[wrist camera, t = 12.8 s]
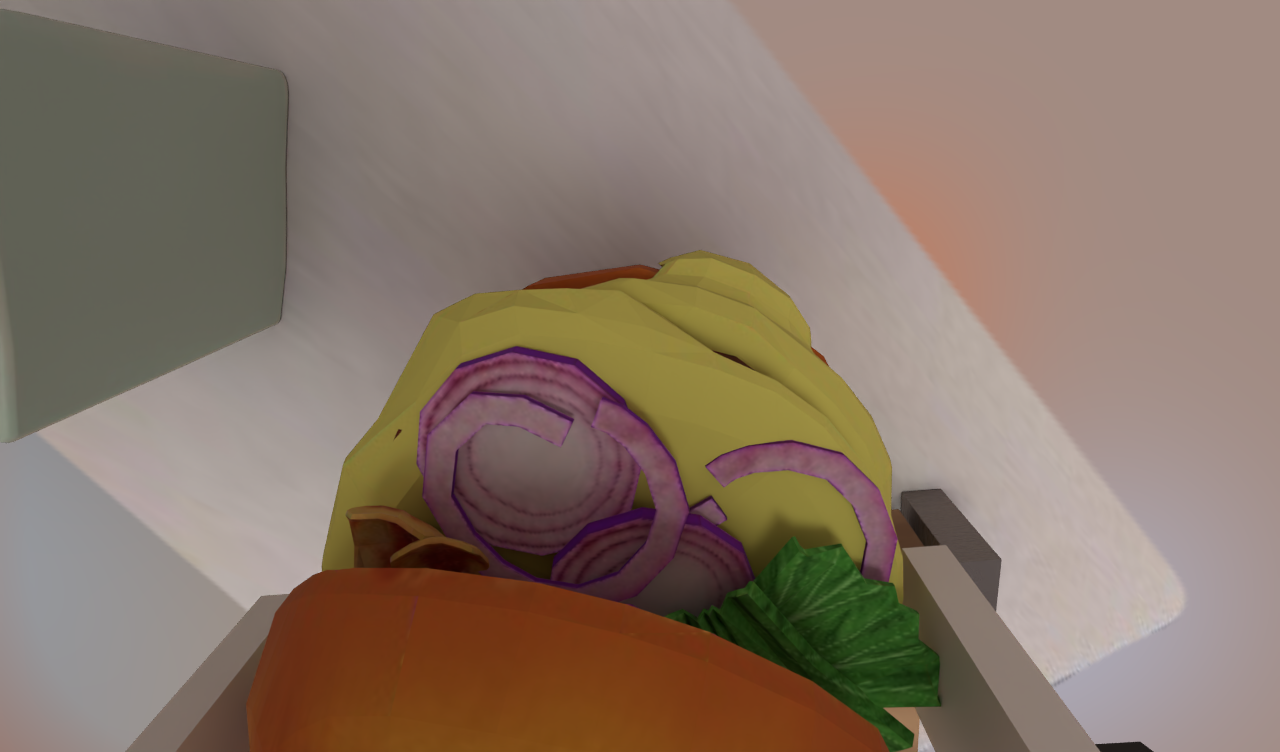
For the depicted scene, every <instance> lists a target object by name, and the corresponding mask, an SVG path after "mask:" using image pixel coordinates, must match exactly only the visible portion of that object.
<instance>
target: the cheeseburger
mask: <svg viewBox="0 0 1280 752" xmlns="http://www.w3.org/2000/svg"><path fill="white" fill-rule="evenodd" d="M659 264H660V265H661V266H662V268H661V269H660V270H659V269H655V268H651V267H647V266H644V265H634V266H626V267H619V268H612V269H605V270H598V271H591V272H584V273H577V274H570V275H563V276H556V277H548V278H544V279H542V280H540V281H538V282H536V283H533V284H531V285H529V286H527V287H526V288H524V289H522V290H513V291H501V292H490V293H478V294H474V295H472V296H470V297H467V298H465V299H463V300H461V301H459V302H457V303H455V304H453V305H451V306H449V307H447V308H445V309H443V310H441V311H440V312H438V313H436V314H434V315H433V316H432V318H431V320H430V322H429V324H428V326H427V328H426V330H425V331H424V333H423V335H422V337H421V339H420V341H419V343H418V345H417V346H416V348H415V350H414V352H413V354H412V356H411V358H410V360H409V361H408V363H407V365H406V367H405V369H404V371H403V373H402V375H401V377H400V378H399V380H398V382H397V384H396V386H395V388H394V390H393V392H392V393H391V395H390V397H389V399H388V401H387V403H386V405H385V407H384V408H383V410H382V412H381V414H380V416H379V418H378V419H377V421H376V422H375V423H374V424H373V426H372V427H371V428H370V429H369V430H368V432H367V433H366V434H365V435H364V436H363V438H362V439H361V440H360V441H359V443H358V444H357V445H356V446H355V447H354V449H353V450H352V451H351V452H350V453H349V455H348V456H347V457H346V459H345V461H344V464H343V468H342V472H341V477H340V481H339V485H338V490H337V494H336V499H335V503H334V508H333V512H332V517H331V521H330V526H329V531H328V535H327V540H326V545H325V549H324V554H323V561H322V572H320V573H317V574H315V575H312V576H311V577H310V578H308V579H307V580H305V581H304V582H303V583H301V584H300V585H298V586H297V587H296V588H294V589H293V590H292V592H291V593H290V594H289V595H288V597H287V598H286V599H285V601H284V602H283V603H282V604H281V606H280V607H279V608H278V610H277V611H276V612H275V615H274V618H273V621H272V624H271V627H270V631H269V634H268V637H267V640H266V643H265V646H264V649H263V652H262V656H261V659H260V662H259V665H258V668H257V671H256V674H255V678H254V681H253V684H252V687H251V690H250V693H249V696H248V699H247V703H246V709H247V722H248V734H249V746H250V752H897V751H901V750H904V749H908V748H911V747H913V741H914V735H915V734H914V733H913V732H911V731H910V730H909V729H908V728H907V727H905V726H904V725H903V724H902V723H901V722H899V721H898V720H897V719H896V718H895V717H893V716H892V715H891V714H890V713H889V712H887V711H886V710H885V709H884V708H894V707H941V702H940V699H939V696H938V684H939V672H940V659H939V658H940V657H939V655H938V654H937V653H936V652H935V651H933V650H932V649H931V648H930V647H928V646H927V645H926V644H925V643H923V642H922V641H921V640H919V616H920V615H919V613H918V612H917V611H916V610H914V609H912V608H910V607H907V606H905V605H903V604H902V603H903V599H904V594H903V556H902V553H901V549H900V546H899V542H898V538H897V535H896V531H895V528H894V524H893V520H892V517H891V487H892V466H891V461H890V458H889V455H888V453H887V451H886V448H885V446H884V444H883V441H882V439H881V437H880V434H879V432H878V430H877V428H876V425H875V423H874V421H873V418H872V416H871V415H870V414H869V412H868V411H867V410H866V408H865V407H864V406H863V405H862V403H861V402H860V401H859V399H858V398H857V397H856V396H855V394H854V393H853V392H852V390H851V389H850V388H849V386H848V385H847V384H846V383H845V381H844V380H843V379H842V378H841V377H840V376H839V375H838V374H837V373H835V372H834V371H833V370H832V369H831V368H830V367H829V366H828V364H827V362H826V360H825V358H824V356H822V355H821V354H820V353H819V352H817V351H816V350H815V349H813V348H812V347H811V334H810V328H809V326H808V324H807V323H806V321H805V320H804V318H803V317H802V315H801V313H800V312H799V310H798V309H797V307H796V305H795V304H794V302H793V301H792V299H791V298H790V296H789V295H788V294H786V293H785V292H784V291H783V290H781V289H780V288H779V287H778V286H776V285H775V284H774V283H773V282H772V281H770V280H769V279H768V278H767V277H765V276H764V275H763V274H762V273H761V272H759V271H758V270H757V269H756V268H754V267H753V266H752V265H751V264H750V263H746V262H742V261H739V260H735V259H731V258H728V257H724V256H720V255H717V254H713V253H709V252H706V251H702V250H698V251H694V252H691V253H687V254H683V255H679V256H675V257H672V258H669V259H667V260H664V261H662V262H660V263H659Z"/></svg>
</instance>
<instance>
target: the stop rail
mask: <svg viewBox="0 0 1280 752" xmlns="http://www.w3.org/2000/svg"><path fill="white" fill-rule="evenodd" d="M901 513H902V515H903V516H904V518H905V519H906V521H907V522H908V523H909V525H910V526H911V528H912V529H913V531H914V532H915V534H916V535H917V536H918V538H919V539H920V541H921V542H922V544H923V545H924V547H926V546H940V545H946V546H947V547H948V548H949V550H950V551H951V552H952V554H953V555H954V556H955V558H956V559H957V560H958V562H959V563H960V564H961V566H962V567H963V568H964V570H965V571H966V572H967V574H968V575H969V576H970V578H971V579H972V580H973V582H974V583H975V584H976V586H977V587H978V588H979V590H980V591H981V592H982V594H983V595H984V596H985V598H986V599H987V600H988V602H989V603H990V604H991V606H992V607H993V609H994V610H995V611H996V606H997V597H998V587H999V578H1000V569H1001V558H1000V557H999V556H998V555H997V554H996V553H995V551H994V550H993V549H992V548H991V547H990V546H989V544H988V543H987V542H986V541H985V540H984V539H983V537H982V536H981V535H980V534H979V533H978V532H977V530H976V529H975V528H974V527H973V526H972V525H971V523H970V522H969V521H968V520H967V519H966V518H965V517H964V515H963V514H962V513H961V512H960V511H959V510H958V508H957V507H956V506H955V505H954V504H953V503H952V501H951V500H950V499H949V498H948V497H947V496H946V494H945V493H944V492H943V491H942V490H941V489H935V490H922V491H909V492H902V499H901Z"/></svg>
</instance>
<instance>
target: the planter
mask: <svg viewBox="0 0 1280 752" xmlns="http://www.w3.org/2000/svg"><path fill="white" fill-rule="evenodd" d="M287 112H288V87H287V81H286V79H285V76H284V74H283V73H282V72H281V71H279V70H275V69H271V68H266V67H262V66H257V65H253V64H248V63H244V62H240V61H235V60H231V59H226V58H222V57H217V56H213V55H209V54H204V53H200V52H195V51H191V50H186V49H182V48H177V47H173V46H169V45H164V44H160V43H155V42H151V41H146V40H142V39H137V38H133V37H129V36H124V35H120V34H115V33H111V32H106V31H102V30H97V29H93V28H88V27H84V26H79V25H75V24H71V23H66V22H62V21H57V20H53V19H48V18H44V17H39V16H35V15H30V14H26V13H21V12H16V11H11V10H5V9H0V442H1V443H10V442H14V441H16V440H19V439H21V438H23V437H25V436H27V435H30V434H32V433H34V432H37V431H39V430H41V429H43V428H46V427H48V426H50V425H52V424H54V423H57V422H59V421H61V420H63V419H66V418H68V417H70V416H72V415H75V414H77V413H79V412H81V411H84V410H86V409H88V408H90V407H93V406H95V405H97V404H99V403H102V402H104V401H106V400H108V399H111V398H113V397H115V396H117V395H120V394H122V393H124V392H126V391H129V390H131V389H133V388H135V387H138V386H140V385H142V384H144V383H147V382H149V381H151V380H153V379H156V378H158V377H160V376H162V375H165V374H167V373H169V372H171V371H174V370H176V369H178V368H180V367H183V366H185V365H187V364H189V363H191V362H194V361H196V360H198V359H200V358H202V357H205V356H207V355H209V354H211V353H213V352H216V351H218V350H220V349H222V348H224V347H227V346H229V345H231V344H233V343H235V342H238V341H240V340H242V339H244V338H246V337H249V336H251V335H253V334H255V333H258V332H260V331H262V330H264V329H267V328H269V327H271V326H273V325H276V324H277V323H278V322H279V321H280V318H281V308H282V299H283V290H284V280H285V271H286V139H287Z"/></svg>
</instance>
